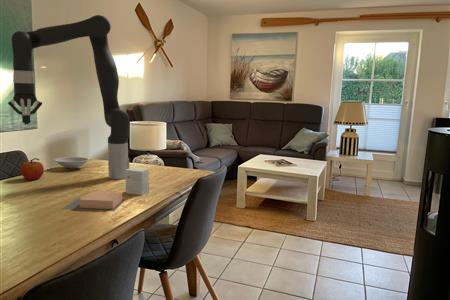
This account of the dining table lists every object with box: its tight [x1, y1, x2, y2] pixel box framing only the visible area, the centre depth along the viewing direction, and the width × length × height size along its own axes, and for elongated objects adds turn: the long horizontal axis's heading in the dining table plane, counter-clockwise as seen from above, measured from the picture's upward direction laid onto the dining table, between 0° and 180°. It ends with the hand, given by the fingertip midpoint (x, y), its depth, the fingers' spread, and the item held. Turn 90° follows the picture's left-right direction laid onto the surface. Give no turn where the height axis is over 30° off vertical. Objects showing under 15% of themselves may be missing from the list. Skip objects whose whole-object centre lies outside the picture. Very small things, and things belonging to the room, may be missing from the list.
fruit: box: [20, 157, 45, 181], centre depth 163 cm, size 10×10×10 cm
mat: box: [61, 197, 126, 212], centre depth 128 cm, size 18×13×1 cm
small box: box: [125, 167, 150, 196], centre depth 144 cm, size 8×6×10 cm
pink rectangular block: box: [79, 191, 123, 209], centre depth 128 cm, size 3×10×12 cm
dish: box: [54, 156, 90, 170], centre depth 187 cm, size 18×14×5 cm
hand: (26, 124), depth 147 cm, fingers closed
